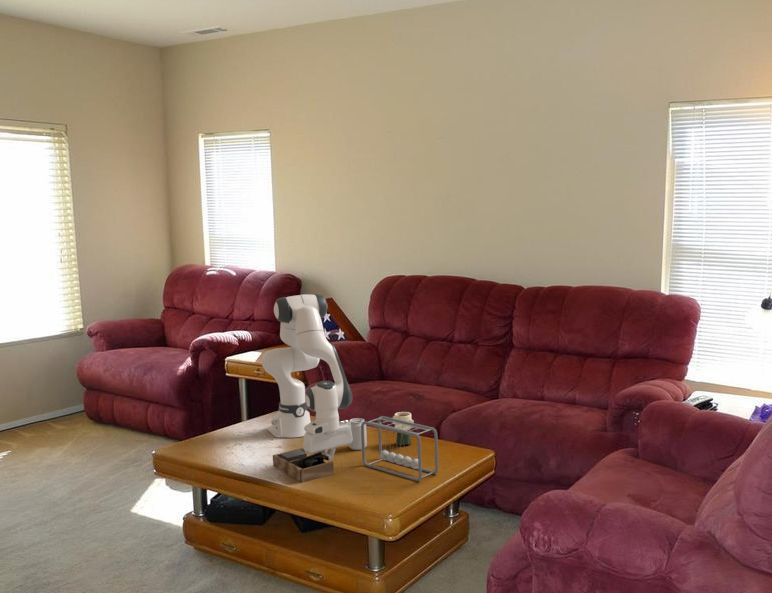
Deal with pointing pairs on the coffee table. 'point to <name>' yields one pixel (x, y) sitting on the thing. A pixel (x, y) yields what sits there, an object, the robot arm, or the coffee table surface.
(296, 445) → the coffee table surface
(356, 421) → the can
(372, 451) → the coffee table surface
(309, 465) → the end cap
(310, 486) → the coffee table surface
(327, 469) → the walnut organizer
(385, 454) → the newton's cradle
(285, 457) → the block
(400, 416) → the character mug
